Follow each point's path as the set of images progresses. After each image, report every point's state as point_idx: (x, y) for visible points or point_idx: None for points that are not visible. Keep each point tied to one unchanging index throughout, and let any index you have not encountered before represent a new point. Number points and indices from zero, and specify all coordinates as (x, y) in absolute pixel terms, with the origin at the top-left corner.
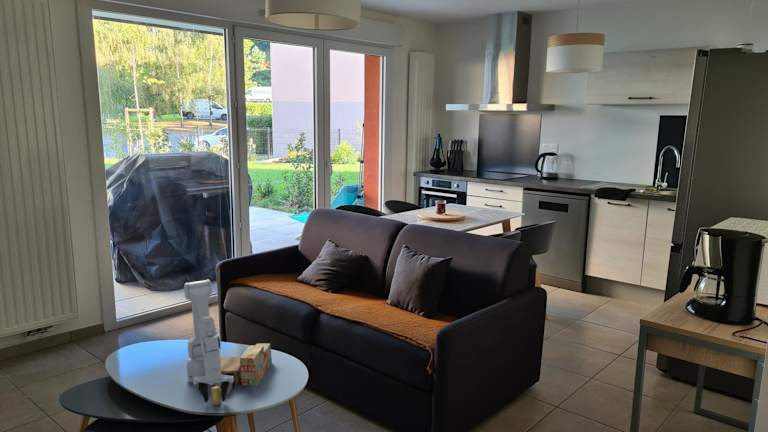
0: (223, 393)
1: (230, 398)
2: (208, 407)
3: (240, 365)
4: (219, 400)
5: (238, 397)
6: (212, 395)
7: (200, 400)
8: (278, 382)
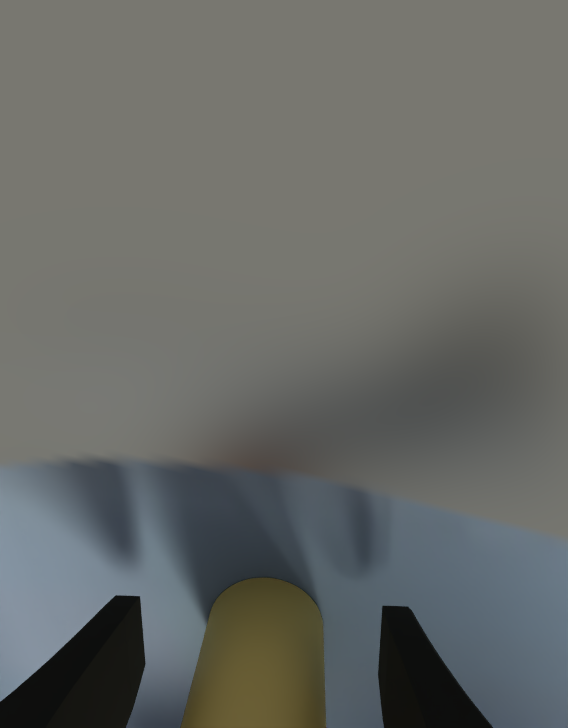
0: (22, 705)
1: None
2: (349, 531)
3: None
4: (206, 638)
5: None
6: (296, 715)
7: (506, 707)
8: None
